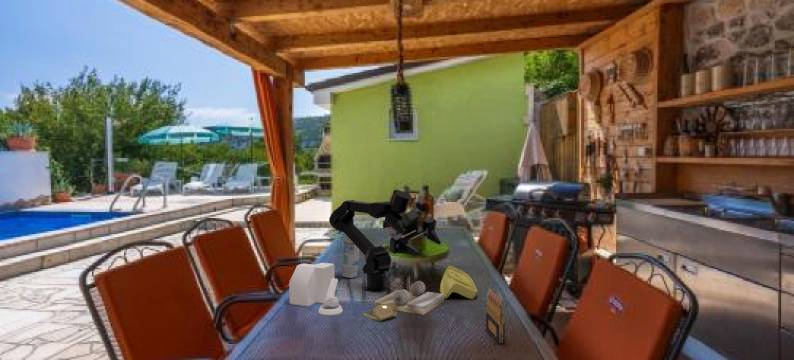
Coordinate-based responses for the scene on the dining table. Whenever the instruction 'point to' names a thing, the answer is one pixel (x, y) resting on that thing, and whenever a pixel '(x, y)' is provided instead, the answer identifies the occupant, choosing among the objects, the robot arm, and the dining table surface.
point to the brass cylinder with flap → (382, 312)
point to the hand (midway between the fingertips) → (430, 248)
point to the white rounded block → (310, 283)
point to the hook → (331, 301)
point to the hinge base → (413, 299)
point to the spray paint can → (350, 258)
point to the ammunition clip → (495, 318)
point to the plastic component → (457, 283)
